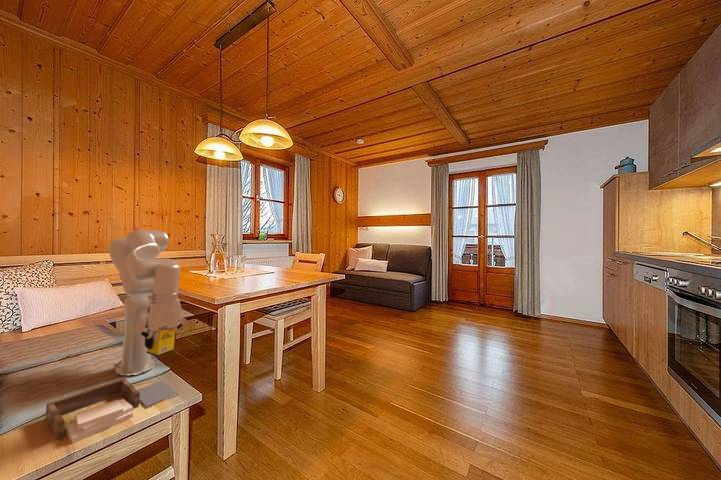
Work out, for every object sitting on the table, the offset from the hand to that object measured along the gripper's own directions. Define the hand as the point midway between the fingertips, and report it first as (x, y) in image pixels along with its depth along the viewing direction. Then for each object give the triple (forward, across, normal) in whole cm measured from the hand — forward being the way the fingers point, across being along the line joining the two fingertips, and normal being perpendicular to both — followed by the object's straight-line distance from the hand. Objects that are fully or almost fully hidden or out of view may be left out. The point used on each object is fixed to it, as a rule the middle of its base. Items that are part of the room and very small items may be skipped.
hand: (160, 344), depth 101 cm
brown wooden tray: (+19, -16, +3) cm, 25 cm away
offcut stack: (+19, -16, -4) cm, 25 cm away
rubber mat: (+19, 0, 0) cm, 19 cm away
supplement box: (+3, 0, 0) cm, 3 cm away
